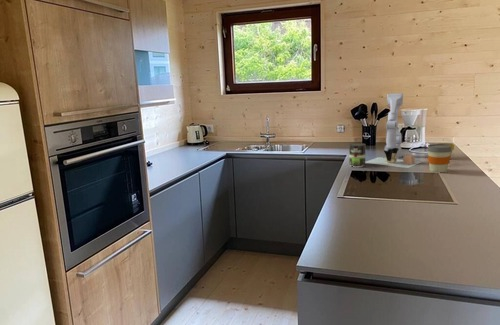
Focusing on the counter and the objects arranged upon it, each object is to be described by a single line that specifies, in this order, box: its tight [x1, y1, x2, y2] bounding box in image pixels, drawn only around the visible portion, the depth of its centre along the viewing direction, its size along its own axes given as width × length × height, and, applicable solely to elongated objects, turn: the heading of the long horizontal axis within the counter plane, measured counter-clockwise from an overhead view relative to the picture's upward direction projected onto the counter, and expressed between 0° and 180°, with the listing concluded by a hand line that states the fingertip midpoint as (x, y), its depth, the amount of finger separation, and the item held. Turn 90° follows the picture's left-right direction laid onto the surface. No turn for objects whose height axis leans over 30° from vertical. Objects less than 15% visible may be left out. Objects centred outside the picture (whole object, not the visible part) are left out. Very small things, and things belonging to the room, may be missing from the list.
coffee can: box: [348, 142, 367, 168], centre depth 246 cm, size 10×10×14 cm
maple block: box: [385, 153, 398, 163], centre depth 247 cm, size 5×5×5 cm
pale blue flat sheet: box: [365, 156, 422, 169], centre depth 249 cm, size 20×30×1 cm, turn 44°
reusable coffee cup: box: [427, 143, 453, 173], centre depth 221 cm, size 12×13×15 cm
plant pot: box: [438, 142, 455, 156], centre depth 252 cm, size 10×10×10 cm
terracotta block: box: [402, 154, 416, 164], centre depth 243 cm, size 5×5×5 cm
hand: (391, 160), depth 247 cm, fingers closed on maple block, 5 cm apart
